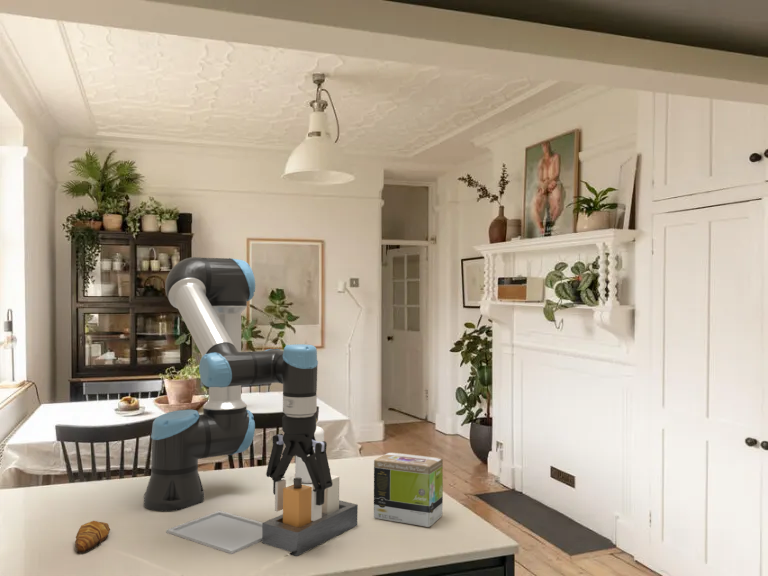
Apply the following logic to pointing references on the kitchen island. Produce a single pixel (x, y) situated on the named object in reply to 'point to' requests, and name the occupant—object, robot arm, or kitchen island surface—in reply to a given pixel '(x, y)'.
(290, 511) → the orange square bottle
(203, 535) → the tray
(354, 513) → the grey bottle rack
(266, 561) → the kitchen island surface
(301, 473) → the white bottle
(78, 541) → the croissant
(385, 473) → the tea box
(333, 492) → the white square bottle
